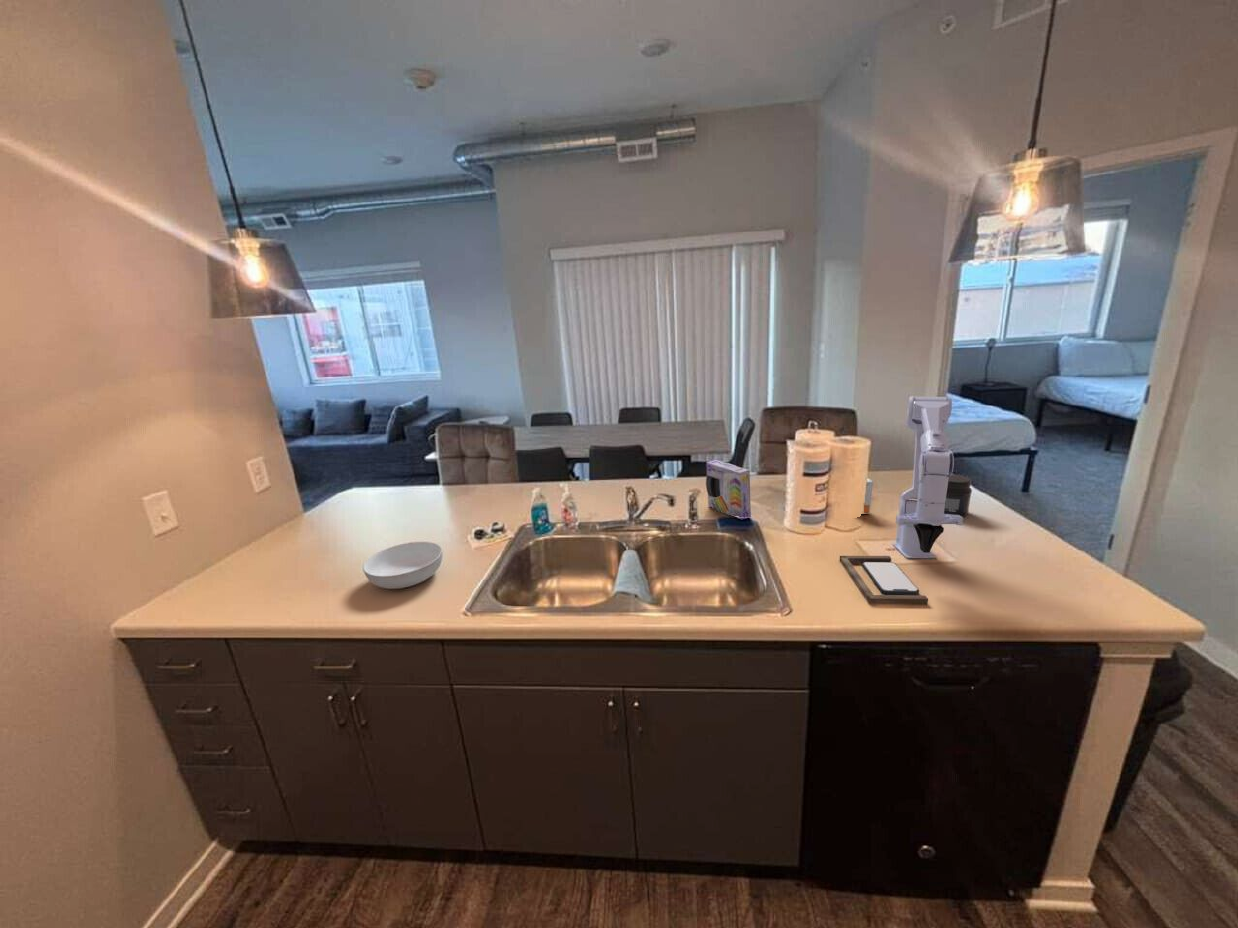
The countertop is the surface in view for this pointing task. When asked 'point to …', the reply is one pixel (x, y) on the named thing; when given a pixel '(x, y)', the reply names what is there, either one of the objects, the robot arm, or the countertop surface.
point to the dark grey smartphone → (889, 578)
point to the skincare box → (868, 496)
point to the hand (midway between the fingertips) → (924, 550)
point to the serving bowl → (403, 564)
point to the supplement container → (958, 495)
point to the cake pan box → (728, 488)
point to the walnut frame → (867, 592)
